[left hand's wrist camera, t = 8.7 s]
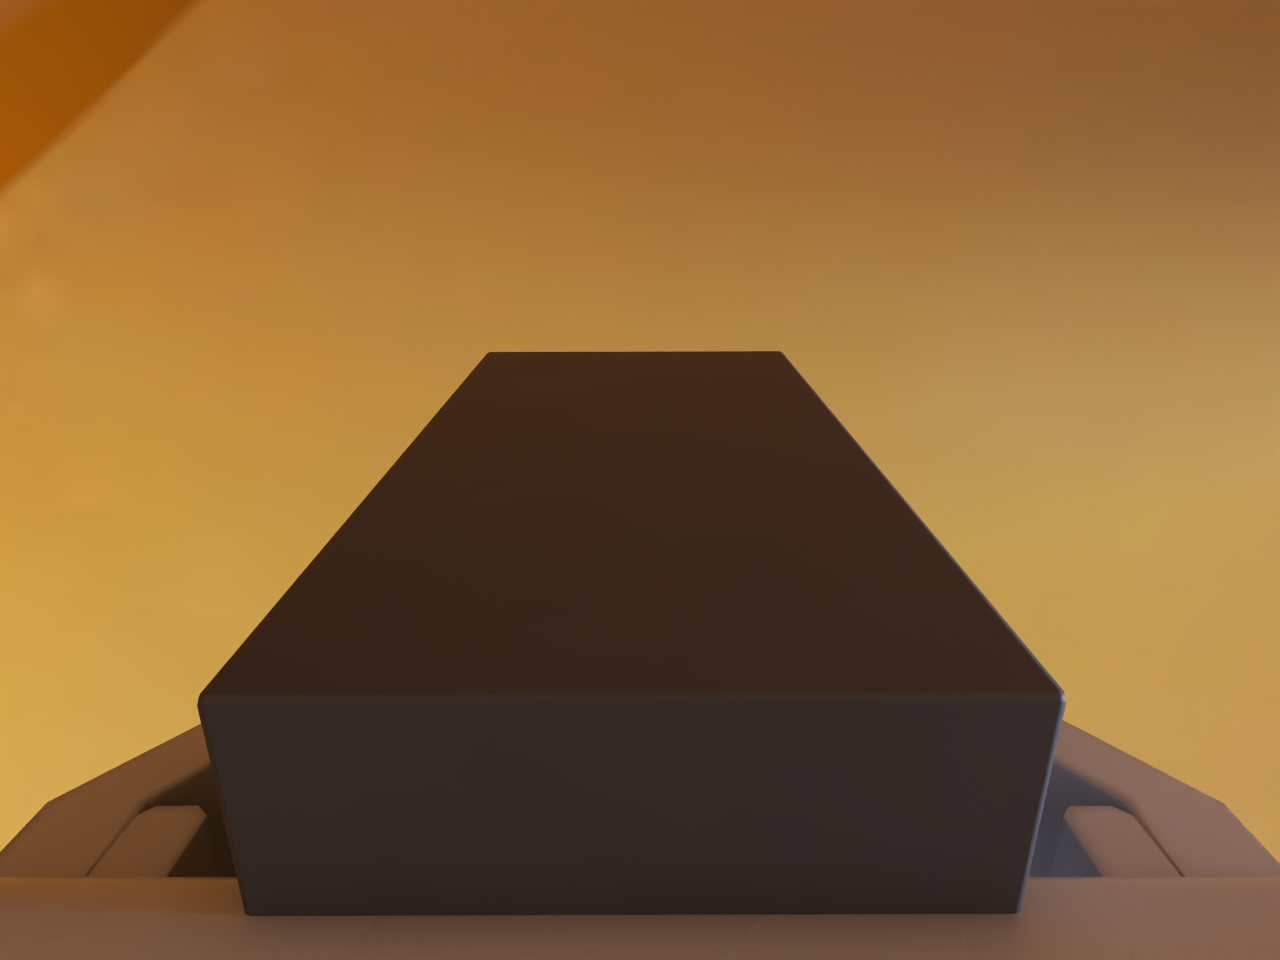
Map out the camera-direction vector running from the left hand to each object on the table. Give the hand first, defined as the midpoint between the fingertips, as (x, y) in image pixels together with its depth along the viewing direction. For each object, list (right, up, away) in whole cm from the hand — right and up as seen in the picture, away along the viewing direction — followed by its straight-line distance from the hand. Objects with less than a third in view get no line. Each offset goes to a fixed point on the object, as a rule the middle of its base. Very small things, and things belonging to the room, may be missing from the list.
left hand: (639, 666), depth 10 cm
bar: (0, -8, +7) cm, 11 cm away
